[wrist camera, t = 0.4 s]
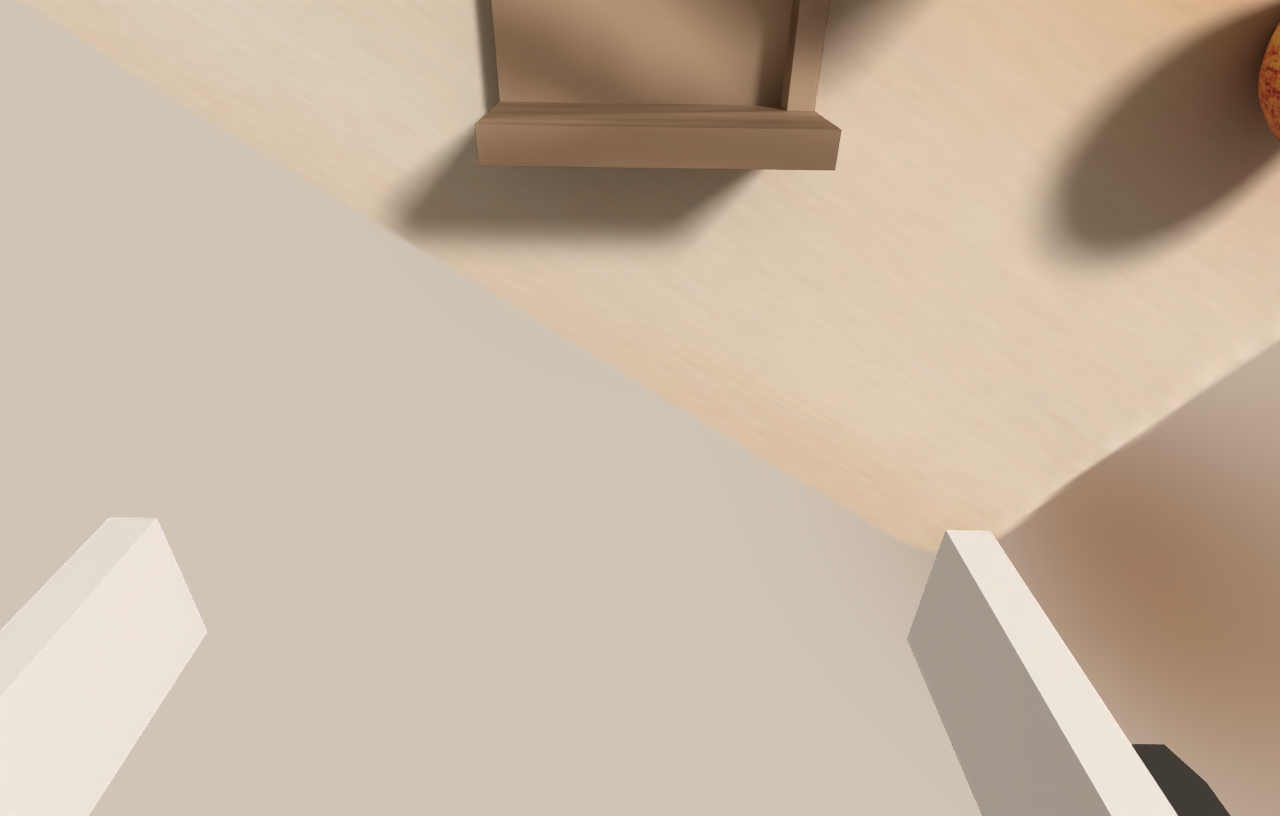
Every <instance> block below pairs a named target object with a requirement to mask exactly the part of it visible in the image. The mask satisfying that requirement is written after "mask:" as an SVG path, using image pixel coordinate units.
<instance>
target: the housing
mask: <svg viewBox="0 0 1280 816" xmlns="http://www.w3.org/2000/svg"><path fill="white" fill-rule="evenodd" d="M829 2H830V0H491V4H492V15H493V27H494V39H495V51H496V63H497V74H498V86H499V98H500V102H499V103H498V104H497V105H495V106H494V107H493V108H492V109H491V110H490V111H489V112H488V113H487V114H486V115H485V116H484V117H483V118H481V119H480V120H479V121H478V122H477V123H476V124H475V132H476V142H477V151H478V161H479V166H541V167H620V168H699V169H777V170H835V167H836V161H837V154H838V148H839V142H840V136H841V129H839V128H838V127H837V126H835V125H834V124H832V123H831V122H829V121H828V120H826V119H825V118H823V117H822V116H821V115H819V114H818V113H816V112H815V111H814V110H815V103H816V95H817V88H818V81H819V74H820V67H821V59H822V52H823V45H824V38H825V30H826V23H827V16H828V9H829Z"/></svg>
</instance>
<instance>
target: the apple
mask: <svg viewBox="0 0 1280 816" xmlns="http://www.w3.org/2000/svg"><path fill="white" fill-rule="evenodd" d="M1258 94H1259V101H1260V105H1261V109H1262V112H1263V114H1264V117H1265V120H1266V122H1267V124H1268V125H1269V127H1270V129H1271V130H1272V132H1273V133H1274V135H1275V136H1276V137H1277V139H1278V140H1279V141H1280V23H1279V24H1278V26H1277V28H1276V30H1275V32H1274V33H1273V35H1272V37H1271V40H1270V42H1269V44H1268V47H1267V49H1266V52H1265V55H1264V58H1263V62H1262V65H1261V68H1260V72H1259V80H1258Z"/></svg>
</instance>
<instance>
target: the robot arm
mask: <svg viewBox="0 0 1280 816" xmlns="http://www.w3.org/2000/svg"><path fill="white" fill-rule="evenodd" d="M206 633H207V630H206V628H205V626H204V623H203V621H202V619H201V617H200V614H199V612H198V610H197V608H196V605H195V603H194V601H193V598H192V596H191V594H190V592H189V590H188V587H187V585H186V583H185V580H184V578H183V576H182V574H181V571H180V569H179V567H178V565H177V562H176V560H175V558H174V556H173V553H172V551H171V549H170V547H169V544H168V542H167V540H166V538H165V536H164V533H163V531H162V529H161V526H160V524H159V522H158V520H157V518H115V517H110V518H108V519H107V520H106V521H105V522H104V523H103V524H102V525H101V526H100V527H99V529H97V531H96V532H95V533H94V534H93V535H92V536H91V537H90V538H89V539H88V540H87V541H86V542H85V543H84V544H83V545H82V546H81V547H80V548H79V549H78V550H77V551H76V552H75V553H74V554H73V555H72V556H71V557H70V558H69V560H68V561H67V562H66V563H65V564H64V565H63V566H62V567H61V568H60V569H59V570H58V571H57V572H56V573H55V574H54V575H53V576H52V577H51V578H50V579H49V580H48V582H46V583H45V584H44V585H43V587H41V589H40V590H39V591H38V592H37V593H36V594H35V595H34V596H33V597H32V598H31V599H30V600H29V601H28V602H27V603H26V604H25V605H24V606H23V607H22V608H21V609H20V610H19V611H18V612H17V614H16V615H14V616H13V618H12V619H11V620H10V621H9V622H8V623H7V624H6V625H5V626H4V627H3V628H2V629H1V630H0V816H89V814H90V813H91V811H92V810H93V808H94V807H95V805H96V804H97V802H98V800H99V799H100V797H101V796H102V794H103V793H104V791H105V790H106V788H107V786H108V785H109V783H110V782H111V780H112V779H113V777H114V776H115V774H116V772H117V771H118V769H119V768H120V766H121V765H122V763H123V762H124V760H125V759H126V757H127V755H128V754H129V752H130V751H131V749H132V748H133V746H134V745H135V743H136V742H137V740H138V738H139V737H140V735H141V734H142V732H143V731H144V729H145V728H146V726H147V725H148V723H149V721H150V720H151V718H152V717H153V715H154V714H155V712H156V710H157V709H158V707H159V706H160V704H161V703H162V701H163V699H164V698H165V697H166V695H167V694H168V692H169V690H170V689H171V687H172V686H173V684H174V683H175V681H176V679H177V678H178V676H179V675H180V673H181V672H182V670H183V669H184V667H185V666H186V664H187V662H188V661H189V659H190V658H191V656H192V655H193V653H194V652H195V650H196V649H197V647H198V645H199V644H200V642H201V641H202V639H203V638H204V636H205V635H206ZM907 640H908V642H909V645H910V647H911V649H912V651H913V653H914V656H915V659H916V661H917V663H918V666H919V668H920V670H921V673H922V675H923V677H924V680H925V682H926V685H927V687H928V689H929V692H930V694H931V696H932V699H933V701H934V703H935V706H936V708H937V711H938V713H939V715H940V717H941V720H942V722H943V725H944V727H945V729H946V732H947V734H948V736H949V739H950V741H951V743H952V746H953V748H954V750H955V753H956V755H957V757H958V760H959V762H960V765H961V767H962V769H963V772H964V774H965V776H966V779H967V781H968V783H969V786H970V788H971V791H972V793H973V795H974V798H975V800H976V802H977V805H978V807H979V809H980V812H981V814H982V816H1230V815H1229V813H1228V812H1227V810H1226V809H1225V808H1224V806H1223V805H1222V804H1221V802H1220V801H1219V800H1218V798H1217V797H1216V795H1215V794H1214V792H1213V791H1212V790H1211V788H1210V787H1209V785H1208V784H1207V783H1206V782H1205V781H1204V780H1203V779H1202V778H1201V777H1200V776H1198V775H1197V774H1196V773H1195V772H1194V771H1193V770H1192V769H1191V768H1190V767H1188V766H1187V765H1186V764H1185V763H1184V762H1183V761H1181V759H1180V758H1178V757H1177V756H1176V755H1175V754H1174V753H1173V752H1172V751H1171V750H1170V749H1168V748H1167V747H1166V746H1165V745H1157V744H1155V745H1154V744H1152V745H1150V744H1135V745H1134V744H1131V743H1130V742H1129V740H1128V739H1127V738H1126V736H1125V734H1124V733H1123V731H1122V730H1121V728H1120V727H1119V725H1118V724H1117V722H1116V721H1115V719H1114V718H1113V716H1112V715H1111V713H1110V712H1109V710H1108V709H1107V707H1106V706H1105V704H1104V703H1103V701H1102V700H1101V698H1100V696H1099V695H1098V693H1097V692H1096V690H1095V689H1094V687H1093V686H1092V684H1091V683H1090V681H1089V680H1088V678H1087V677H1086V675H1085V674H1084V672H1083V671H1082V669H1081V668H1080V666H1079V665H1078V663H1077V662H1076V660H1075V659H1074V657H1073V656H1072V654H1071V652H1070V651H1069V649H1068V648H1067V646H1066V645H1065V643H1064V642H1063V641H1062V639H1061V637H1060V636H1059V634H1058V633H1057V631H1056V630H1055V628H1054V627H1053V625H1052V624H1051V622H1050V621H1049V619H1048V618H1047V616H1046V615H1045V613H1044V611H1043V610H1042V609H1041V607H1040V605H1039V604H1038V603H1037V601H1036V599H1035V598H1034V596H1033V595H1032V593H1031V592H1030V590H1029V589H1028V587H1027V586H1026V584H1025V583H1024V581H1023V580H1022V578H1021V577H1020V575H1019V574H1018V572H1017V571H1016V569H1015V567H1014V566H1013V564H1012V563H1011V561H1010V560H1009V558H1008V557H1007V555H1006V554H1005V552H1004V551H1003V549H1002V548H1001V546H1000V545H999V543H998V542H997V540H996V539H995V537H994V536H993V534H992V533H991V531H979V530H946V531H945V534H944V537H943V540H942V542H941V545H940V548H939V551H938V554H937V556H936V559H935V562H934V565H933V568H932V571H931V573H930V576H929V579H928V582H927V584H926V587H925V590H924V593H923V596H922V598H921V601H920V604H919V607H918V610H917V613H916V615H915V618H914V621H913V624H912V627H911V629H910V632H909V635H908V638H907Z"/></svg>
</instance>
